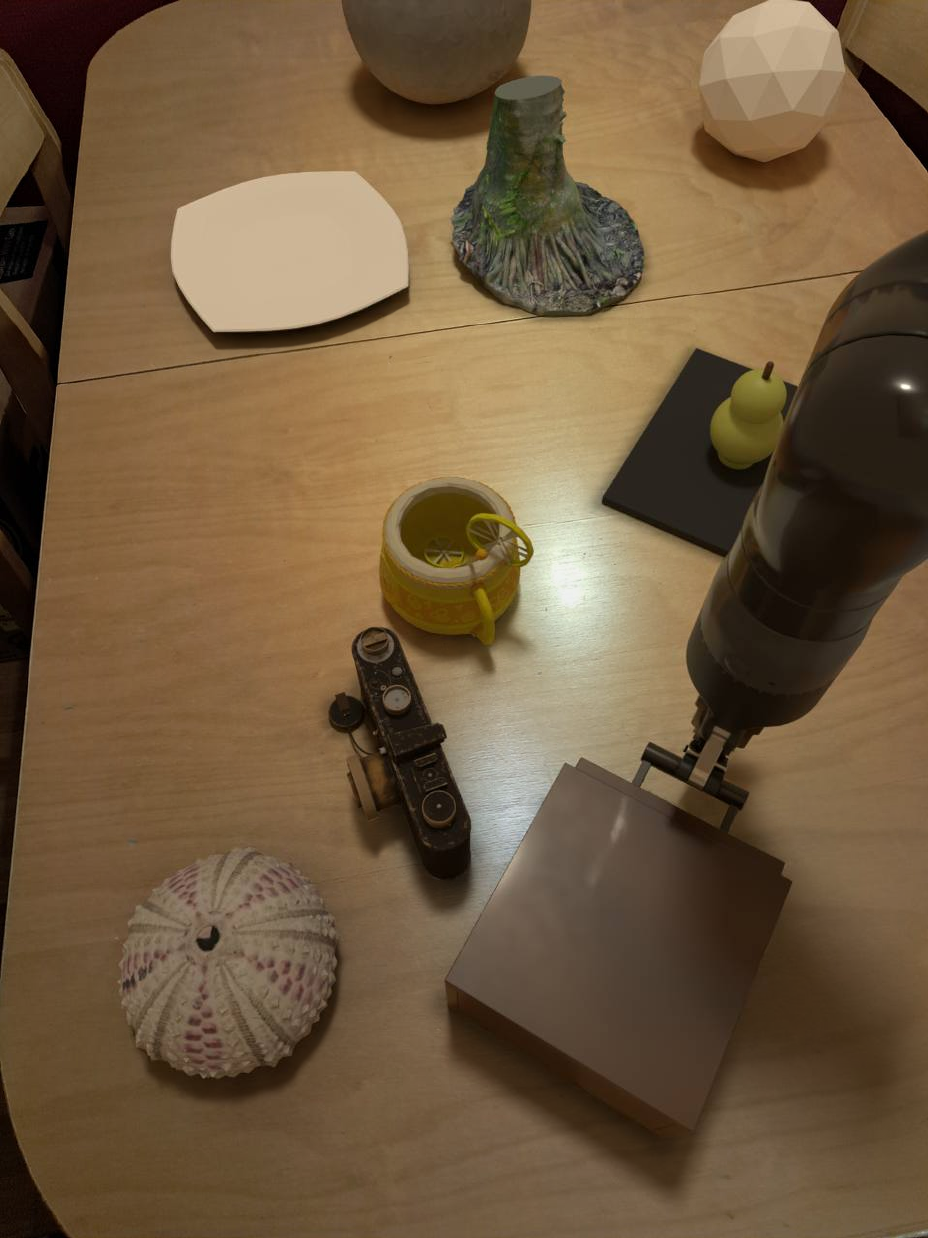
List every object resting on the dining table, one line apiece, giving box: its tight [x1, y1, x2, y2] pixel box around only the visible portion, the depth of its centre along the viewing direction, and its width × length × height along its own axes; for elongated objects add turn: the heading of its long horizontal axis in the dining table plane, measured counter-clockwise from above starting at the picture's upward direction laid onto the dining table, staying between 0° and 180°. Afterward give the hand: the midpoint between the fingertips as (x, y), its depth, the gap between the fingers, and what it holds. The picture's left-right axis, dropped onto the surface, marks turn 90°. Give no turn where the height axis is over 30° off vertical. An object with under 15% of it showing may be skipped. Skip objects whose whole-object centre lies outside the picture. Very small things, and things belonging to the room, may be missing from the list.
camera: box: [327, 626, 472, 881], centre depth 63 cm, size 16×7×8 cm, turn 21°
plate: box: [170, 170, 410, 334], centre depth 93 cm, size 23×23×2 cm
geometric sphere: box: [698, 0, 846, 163], centre depth 98 cm, size 14×15×15 cm
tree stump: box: [450, 75, 645, 317], centre depth 90 cm, size 18×20×18 cm
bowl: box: [341, 0, 532, 105], centre depth 103 cm, size 20×20×15 cm
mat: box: [601, 347, 799, 557], centre depth 80 cm, size 16×20×1 cm
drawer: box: [574, 741, 786, 875], centre depth 58 cm, size 18×13×7 cm
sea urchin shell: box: [116, 846, 341, 1080], centre depth 56 cm, size 13×14×8 cm
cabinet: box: [444, 762, 793, 1139], centre depth 56 cm, size 15×15×9 cm
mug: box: [378, 476, 535, 646], centre depth 69 cm, size 13×11×12 cm
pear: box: [710, 360, 787, 469], centre depth 75 cm, size 6×6×11 cm
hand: (705, 754), depth 62 cm, fingers closed
